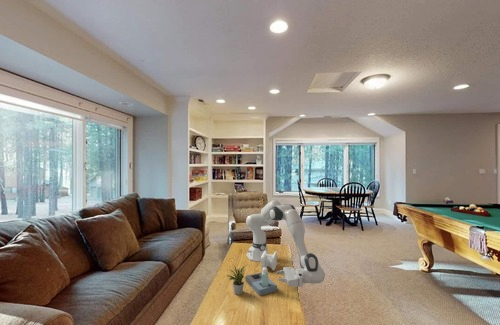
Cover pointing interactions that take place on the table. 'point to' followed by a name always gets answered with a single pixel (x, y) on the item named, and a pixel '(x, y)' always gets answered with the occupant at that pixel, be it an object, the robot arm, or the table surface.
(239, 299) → the table surface
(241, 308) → the table surface
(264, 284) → the plug
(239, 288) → the house plant
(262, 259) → the cable organizer
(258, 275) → the socket panel
